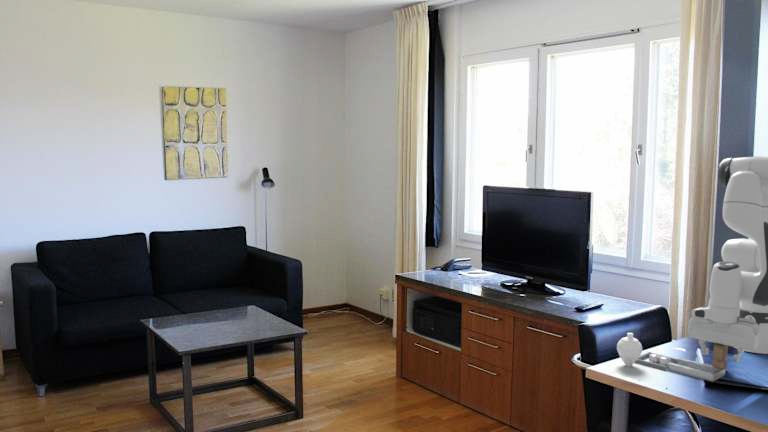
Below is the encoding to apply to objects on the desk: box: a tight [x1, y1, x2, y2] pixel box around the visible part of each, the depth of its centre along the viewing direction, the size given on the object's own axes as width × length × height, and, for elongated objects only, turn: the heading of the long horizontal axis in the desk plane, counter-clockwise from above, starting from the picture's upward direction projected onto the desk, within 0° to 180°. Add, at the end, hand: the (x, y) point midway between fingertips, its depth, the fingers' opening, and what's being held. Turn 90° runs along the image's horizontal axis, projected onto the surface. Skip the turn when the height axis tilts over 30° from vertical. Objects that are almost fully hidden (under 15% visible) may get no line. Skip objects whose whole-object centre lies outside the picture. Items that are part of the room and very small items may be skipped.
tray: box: [634, 351, 679, 371], centre depth 220 cm, size 11×11×3 cm
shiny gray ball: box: [648, 353, 661, 364], centre depth 221 cm, size 3×3×3 cm
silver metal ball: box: [658, 355, 671, 366], centre depth 218 cm, size 3×3×3 cm
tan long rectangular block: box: [711, 343, 729, 372], centre depth 213 cm, size 4×2×10 cm, turn 132°
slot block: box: [666, 357, 726, 383], centre depth 211 cm, size 9×14×4 cm, turn 42°
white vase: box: [616, 332, 643, 367], centre depth 216 cm, size 8×8×12 cm
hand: (720, 357), depth 213 cm, fingers open, 8 cm apart
